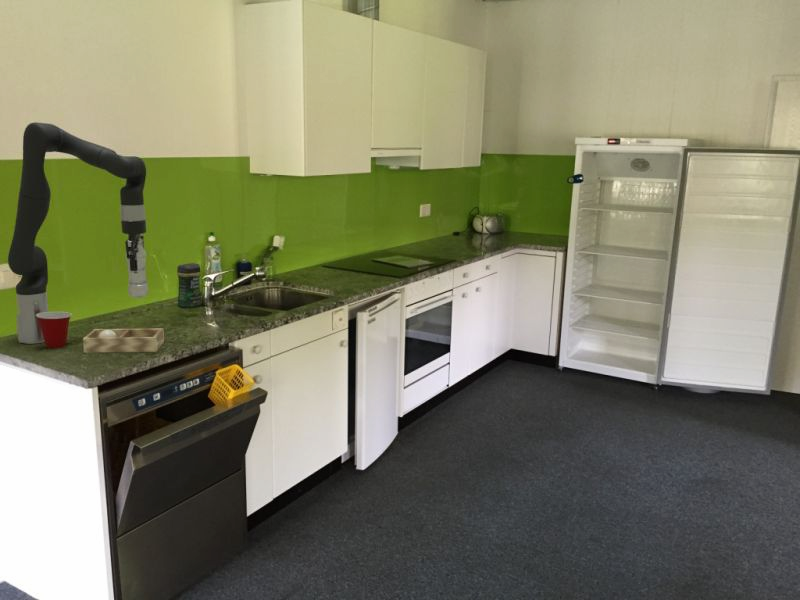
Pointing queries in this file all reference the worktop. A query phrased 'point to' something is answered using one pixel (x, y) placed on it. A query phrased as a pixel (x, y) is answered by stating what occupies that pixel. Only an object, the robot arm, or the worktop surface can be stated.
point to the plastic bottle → (138, 275)
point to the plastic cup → (54, 328)
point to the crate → (124, 341)
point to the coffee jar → (189, 285)
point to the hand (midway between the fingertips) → (136, 268)
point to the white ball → (107, 334)
